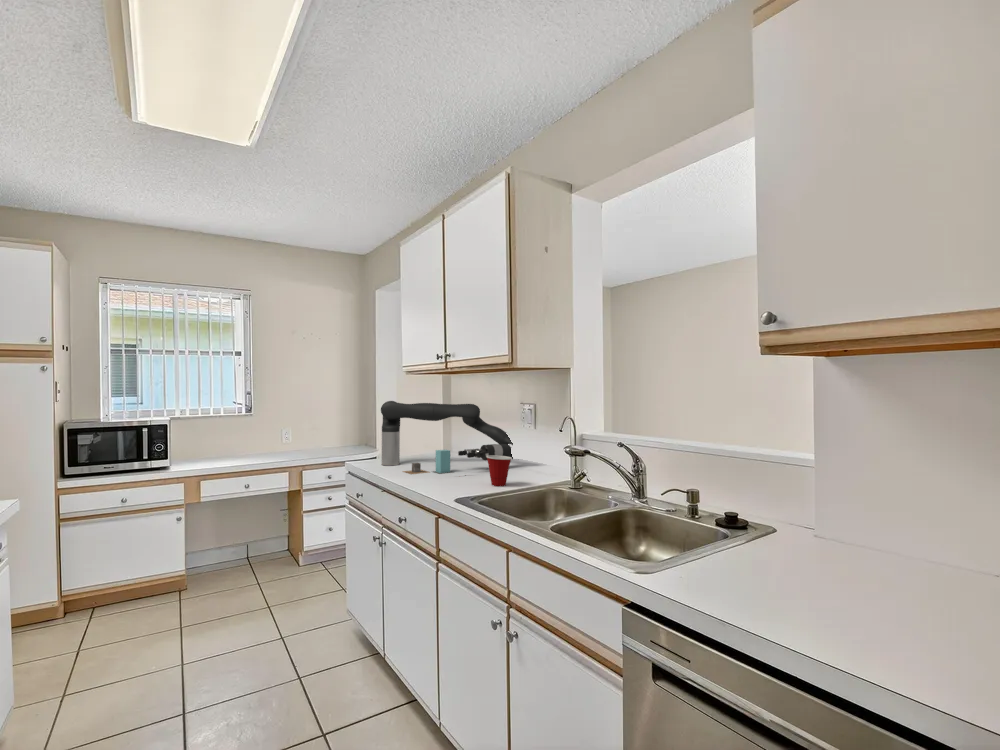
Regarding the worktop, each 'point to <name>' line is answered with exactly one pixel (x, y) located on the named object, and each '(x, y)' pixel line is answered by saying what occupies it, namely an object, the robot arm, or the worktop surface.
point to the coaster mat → (442, 473)
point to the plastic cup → (498, 469)
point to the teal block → (442, 461)
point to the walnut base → (416, 469)
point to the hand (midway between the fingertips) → (463, 454)
